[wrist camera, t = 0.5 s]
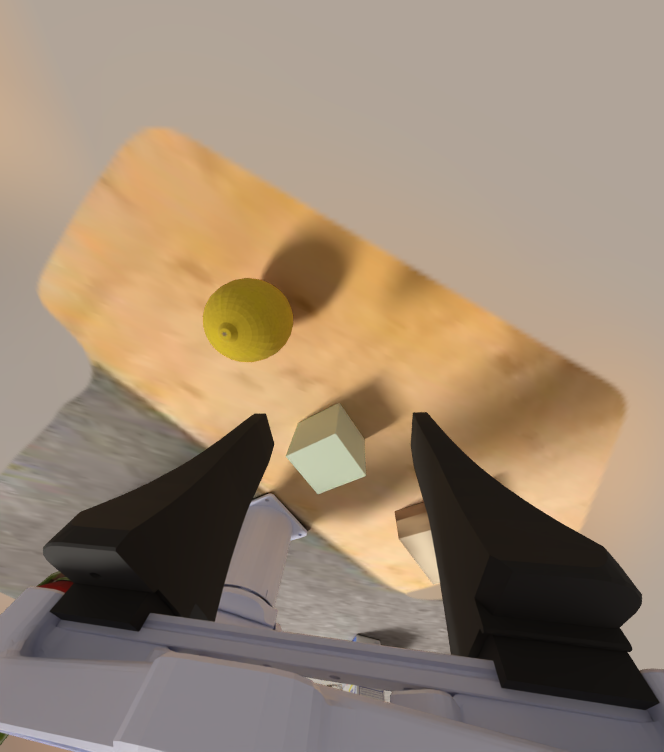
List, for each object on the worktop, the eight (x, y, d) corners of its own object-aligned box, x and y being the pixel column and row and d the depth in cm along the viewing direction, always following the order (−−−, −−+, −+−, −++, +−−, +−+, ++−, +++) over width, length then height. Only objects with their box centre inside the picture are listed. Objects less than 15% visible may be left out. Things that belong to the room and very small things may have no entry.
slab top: (428, 565, 31) (433, 584, 29) (396, 521, 28) (398, 538, 26) (503, 547, 28) (514, 567, 26) (476, 496, 25) (485, 514, 23)
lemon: (302, 278, 20) (269, 284, 12) (302, 344, 22) (275, 383, 15) (235, 274, 20) (165, 278, 13) (242, 340, 22) (186, 376, 15)
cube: (324, 456, 27) (317, 494, 22) (298, 422, 25) (285, 456, 21) (364, 438, 25) (366, 475, 21) (339, 402, 24) (335, 433, 19)
